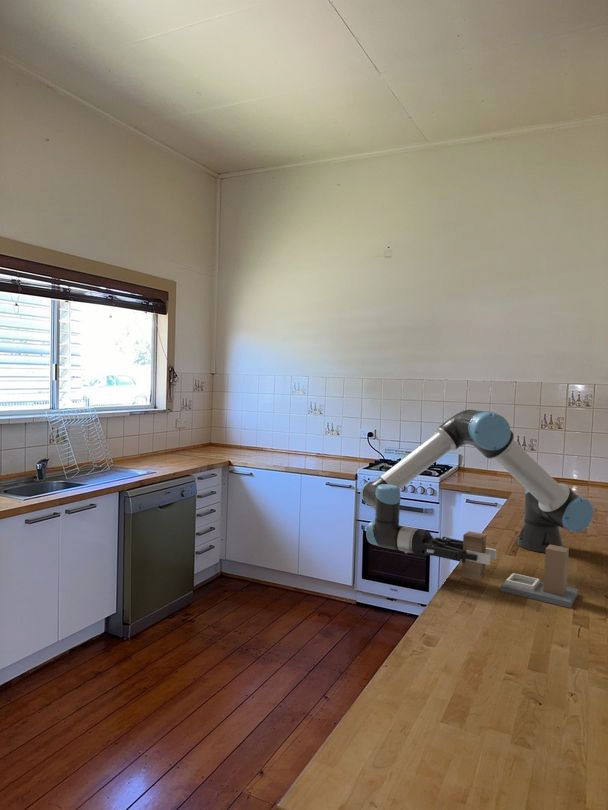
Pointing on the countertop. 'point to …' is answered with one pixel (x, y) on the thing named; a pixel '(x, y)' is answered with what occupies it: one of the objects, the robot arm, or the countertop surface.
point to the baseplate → (542, 594)
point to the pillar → (476, 544)
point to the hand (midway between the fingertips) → (492, 557)
